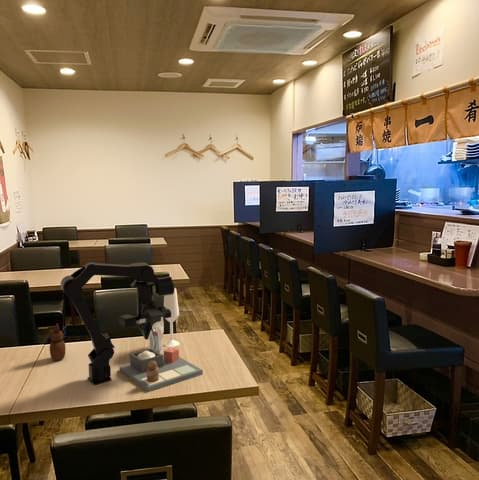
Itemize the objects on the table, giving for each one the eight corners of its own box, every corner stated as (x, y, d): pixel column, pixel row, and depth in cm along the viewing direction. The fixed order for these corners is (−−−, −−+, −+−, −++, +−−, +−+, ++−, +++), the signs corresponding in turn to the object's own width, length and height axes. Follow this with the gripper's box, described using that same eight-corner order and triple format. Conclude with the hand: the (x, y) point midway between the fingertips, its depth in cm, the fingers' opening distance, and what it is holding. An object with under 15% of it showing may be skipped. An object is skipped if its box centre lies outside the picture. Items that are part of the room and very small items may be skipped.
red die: (172, 362, 179) (172, 352, 178) (164, 360, 181) (163, 350, 180) (178, 359, 182) (178, 349, 181) (170, 357, 184) (170, 347, 183)
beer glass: (166, 349, 196) (165, 314, 194) (161, 356, 189) (160, 319, 187) (149, 348, 197) (148, 313, 194) (144, 355, 190) (143, 319, 188)
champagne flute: (164, 347, 198) (163, 291, 195) (162, 341, 204) (161, 287, 201) (180, 346, 200) (179, 290, 196) (178, 340, 206) (177, 286, 203)
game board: (148, 391, 159) (147, 374, 158) (119, 370, 176) (118, 354, 175) (202, 373, 172) (202, 358, 172) (171, 355, 189) (170, 341, 188)
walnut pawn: (150, 383, 161) (150, 364, 160) (145, 379, 164) (144, 360, 163) (161, 379, 164) (160, 361, 163) (155, 376, 167) (154, 357, 166)
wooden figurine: (66, 361, 184) (64, 323, 182) (50, 363, 182) (48, 325, 180) (65, 354, 190) (63, 318, 188) (50, 357, 188) (48, 320, 186)
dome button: (142, 367, 171) (142, 355, 170) (134, 362, 176) (134, 350, 175) (158, 363, 175) (158, 351, 174) (150, 357, 180) (149, 346, 179)
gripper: (131, 307, 159) (133, 352, 162) (179, 298, 171) (179, 339, 173) (117, 300, 168) (118, 342, 170) (163, 291, 180) (164, 331, 182)
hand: (146, 339), depth 174 cm, fingers closed
